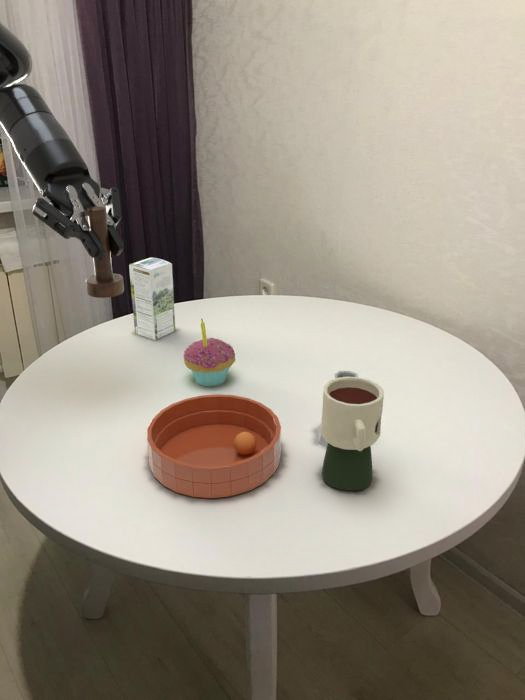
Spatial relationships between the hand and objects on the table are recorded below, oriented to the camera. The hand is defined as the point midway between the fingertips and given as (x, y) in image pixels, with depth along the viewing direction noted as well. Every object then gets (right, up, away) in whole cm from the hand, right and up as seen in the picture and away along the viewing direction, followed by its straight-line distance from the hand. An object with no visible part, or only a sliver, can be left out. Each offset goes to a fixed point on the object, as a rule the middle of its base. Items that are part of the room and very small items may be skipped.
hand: (110, 254), depth 82 cm
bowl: (+15, -28, -3) cm, 32 cm away
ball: (+19, -26, -3) cm, 32 cm away
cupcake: (+12, -19, +17) cm, 28 cm away
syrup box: (0, -10, +34) cm, 36 cm away
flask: (+32, -26, +1) cm, 41 cm away
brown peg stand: (-2, -5, +4) cm, 6 cm away
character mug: (+32, -30, -7) cm, 44 cm away
